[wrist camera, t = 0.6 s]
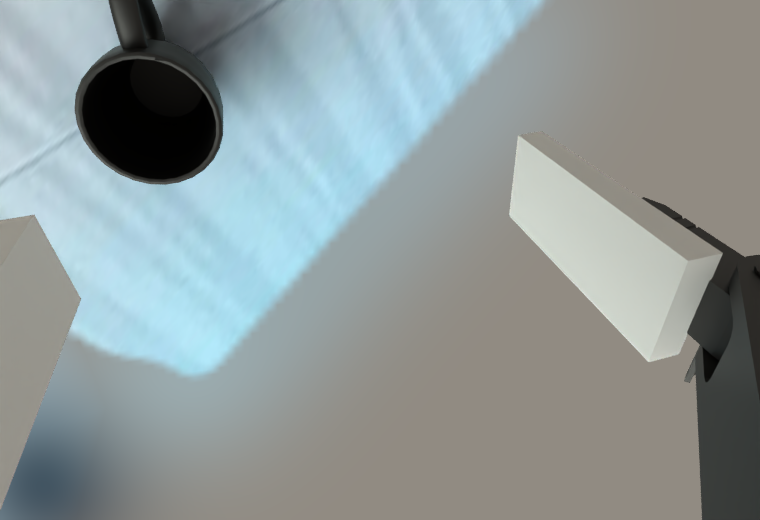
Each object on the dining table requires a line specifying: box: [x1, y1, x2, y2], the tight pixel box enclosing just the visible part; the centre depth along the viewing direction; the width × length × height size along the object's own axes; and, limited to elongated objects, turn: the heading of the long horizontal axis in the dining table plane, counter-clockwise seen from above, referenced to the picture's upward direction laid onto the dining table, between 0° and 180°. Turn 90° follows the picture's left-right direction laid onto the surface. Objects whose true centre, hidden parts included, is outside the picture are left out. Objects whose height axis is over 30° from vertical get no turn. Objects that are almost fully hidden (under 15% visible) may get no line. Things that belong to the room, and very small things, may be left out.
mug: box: [75, 0, 223, 184], centre depth 32 cm, size 8×12×10 cm
